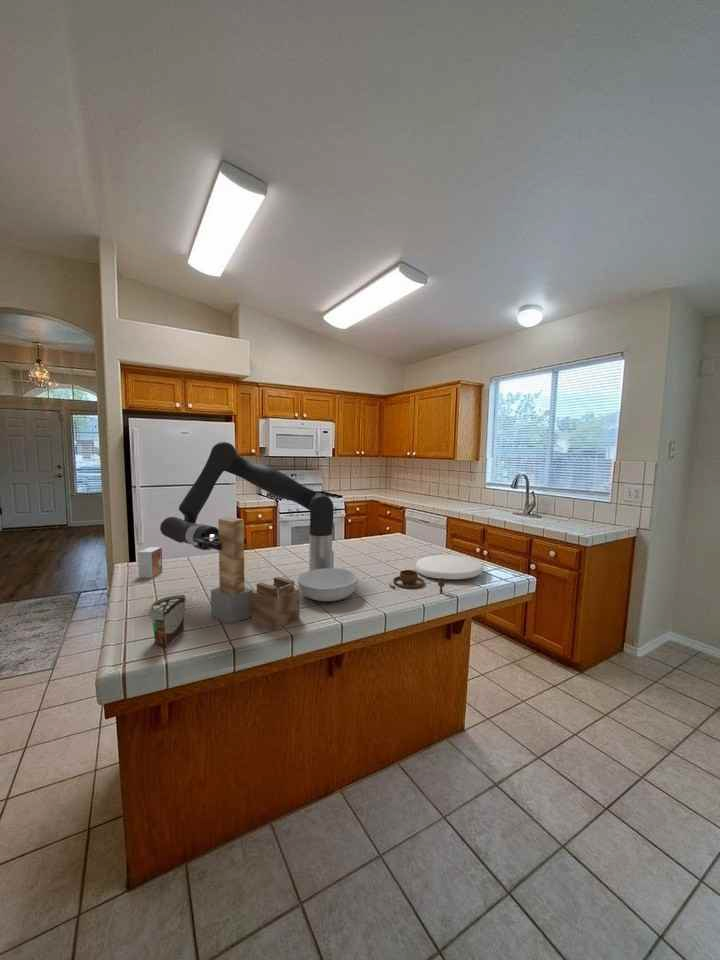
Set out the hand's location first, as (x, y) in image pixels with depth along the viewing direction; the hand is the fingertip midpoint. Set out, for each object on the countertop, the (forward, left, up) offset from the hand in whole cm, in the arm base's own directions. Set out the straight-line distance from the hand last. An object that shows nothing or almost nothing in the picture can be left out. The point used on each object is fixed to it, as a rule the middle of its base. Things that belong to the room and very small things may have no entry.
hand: (233, 544), depth 117 cm
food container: (+20, -3, -23) cm, 30 cm away
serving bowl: (-30, +12, -23) cm, 40 cm away
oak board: (0, -1, -14) cm, 15 cm away
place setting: (-57, +31, -23) cm, 69 cm away
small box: (-3, -59, -23) cm, 63 cm away
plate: (-81, +35, -23) cm, 91 cm away
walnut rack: (-6, +12, -22) cm, 26 cm away
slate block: (0, -1, -22) cm, 23 cm away
